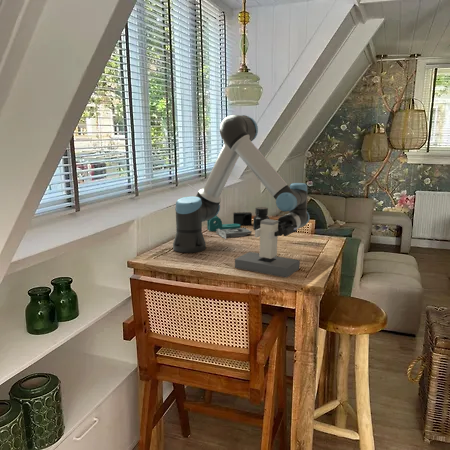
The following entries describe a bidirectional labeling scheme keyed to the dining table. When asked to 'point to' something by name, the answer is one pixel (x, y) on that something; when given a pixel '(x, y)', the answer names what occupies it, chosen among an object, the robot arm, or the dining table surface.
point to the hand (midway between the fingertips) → (262, 234)
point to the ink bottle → (260, 216)
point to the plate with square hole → (267, 264)
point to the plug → (266, 245)
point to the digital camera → (242, 218)
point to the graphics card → (233, 232)
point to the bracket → (220, 224)
